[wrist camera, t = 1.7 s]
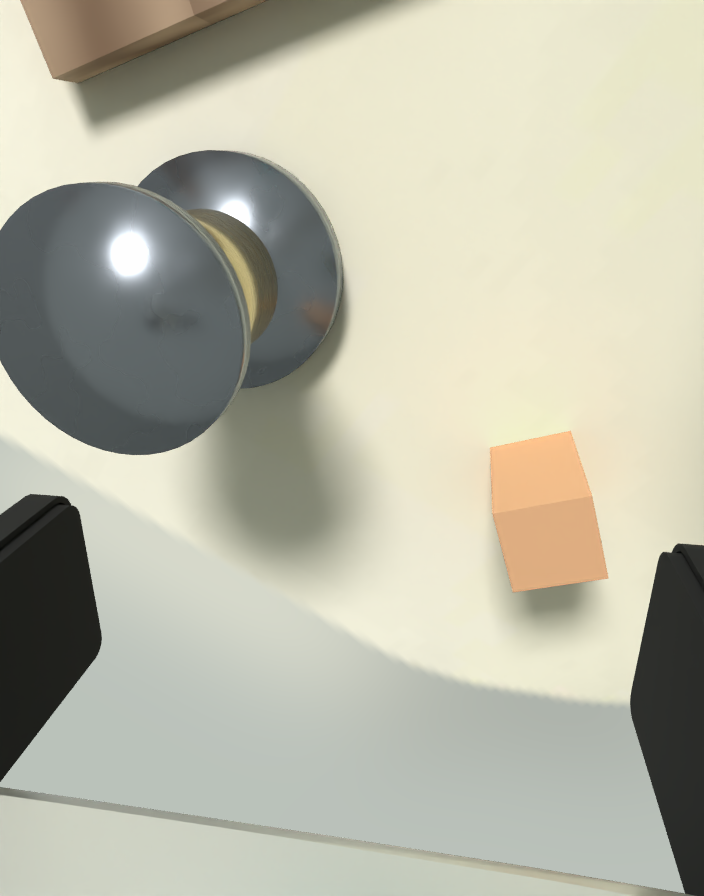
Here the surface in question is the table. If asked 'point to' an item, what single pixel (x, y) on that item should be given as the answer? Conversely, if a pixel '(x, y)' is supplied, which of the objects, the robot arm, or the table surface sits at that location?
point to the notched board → (116, 29)
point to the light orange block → (545, 514)
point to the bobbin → (164, 296)
